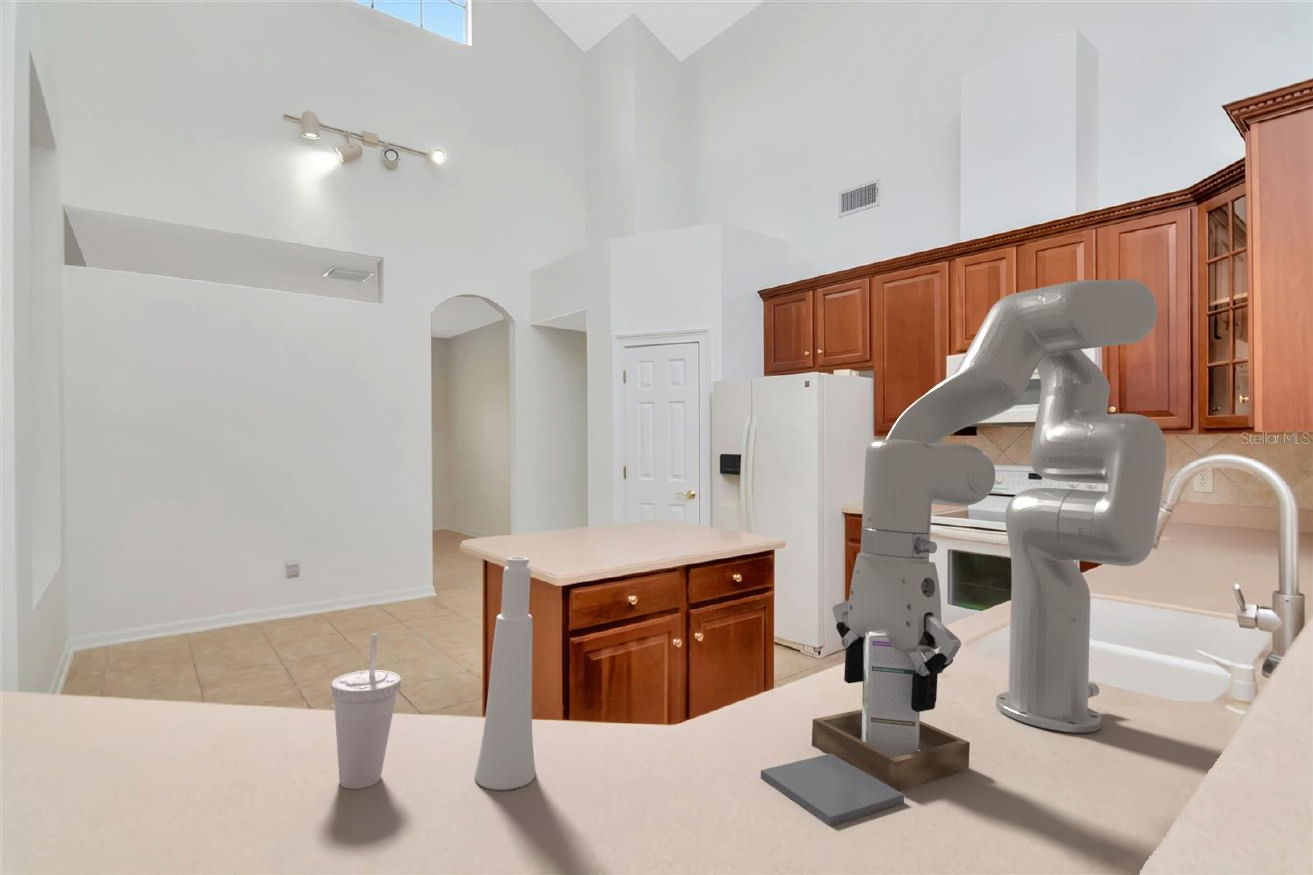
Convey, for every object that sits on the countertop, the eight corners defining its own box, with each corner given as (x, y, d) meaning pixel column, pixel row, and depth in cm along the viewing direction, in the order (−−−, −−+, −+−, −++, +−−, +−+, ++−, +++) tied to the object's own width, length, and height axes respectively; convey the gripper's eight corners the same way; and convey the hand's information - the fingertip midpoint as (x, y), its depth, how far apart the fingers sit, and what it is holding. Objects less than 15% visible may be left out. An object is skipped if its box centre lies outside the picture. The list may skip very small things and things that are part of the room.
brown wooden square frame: (882, 728, 84) (883, 705, 84) (968, 769, 73) (969, 742, 73) (811, 744, 78) (812, 719, 78) (894, 791, 67) (895, 762, 67)
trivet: (830, 760, 74) (830, 753, 74) (903, 802, 65) (904, 794, 65) (760, 778, 69) (761, 770, 69) (829, 826, 60) (830, 817, 60)
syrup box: (919, 772, 72) (924, 638, 73) (863, 764, 73) (868, 633, 74) (910, 750, 78) (914, 626, 78) (858, 743, 79) (863, 621, 80)
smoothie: (409, 776, 66) (418, 634, 66) (351, 803, 60) (361, 648, 61) (368, 758, 69) (377, 624, 69) (309, 782, 63) (319, 636, 64)
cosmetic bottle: (496, 758, 70) (508, 552, 71) (546, 769, 68) (558, 557, 69) (461, 783, 65) (475, 558, 66) (514, 796, 63) (528, 564, 64)
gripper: (983, 556, 71) (976, 718, 70) (860, 537, 86) (853, 669, 85) (938, 557, 67) (930, 727, 66) (817, 536, 82) (810, 675, 81)
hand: (887, 694), depth 76 cm, fingers open, 9 cm apart
